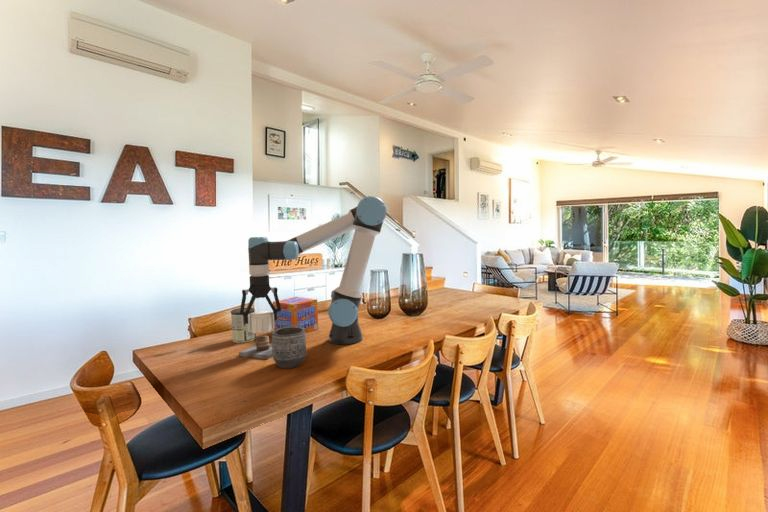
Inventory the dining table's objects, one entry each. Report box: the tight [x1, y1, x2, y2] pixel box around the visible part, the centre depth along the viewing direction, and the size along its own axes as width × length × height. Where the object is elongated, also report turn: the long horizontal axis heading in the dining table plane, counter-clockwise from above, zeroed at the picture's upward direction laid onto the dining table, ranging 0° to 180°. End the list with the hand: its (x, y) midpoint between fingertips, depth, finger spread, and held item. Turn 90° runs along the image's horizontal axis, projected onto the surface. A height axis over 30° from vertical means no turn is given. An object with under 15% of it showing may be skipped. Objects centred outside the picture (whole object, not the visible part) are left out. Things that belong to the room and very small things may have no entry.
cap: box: [250, 310, 273, 334], centre depth 152 cm, size 8×8×7 cm
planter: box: [271, 327, 307, 369], centre depth 138 cm, size 12×12×13 cm
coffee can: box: [230, 307, 257, 344], centre depth 171 cm, size 10×10×14 cm
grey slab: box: [238, 335, 273, 360], centre depth 152 cm, size 14×12×6 cm
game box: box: [272, 296, 319, 334], centre depth 185 cm, size 16×16×16 cm
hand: (261, 329), depth 152 cm, fingers closed on cap, 9 cm apart
